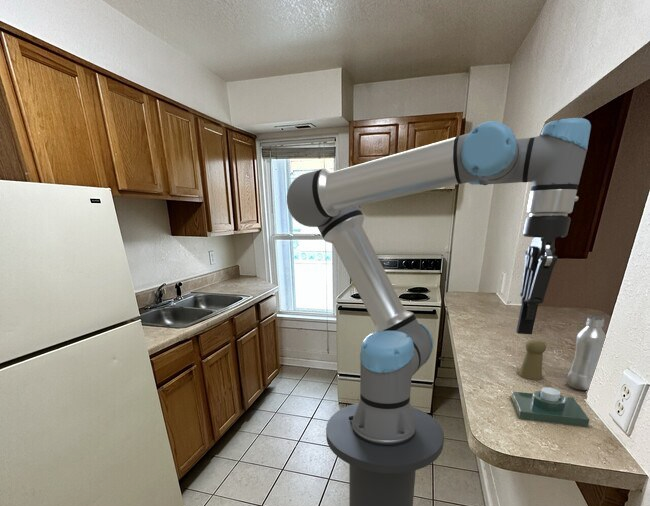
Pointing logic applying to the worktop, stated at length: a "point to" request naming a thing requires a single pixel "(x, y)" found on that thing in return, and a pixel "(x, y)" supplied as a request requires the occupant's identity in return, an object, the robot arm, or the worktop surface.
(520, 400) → the green button base
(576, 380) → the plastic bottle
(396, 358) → the robot arm
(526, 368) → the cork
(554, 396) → the white push button
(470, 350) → the worktop surface
